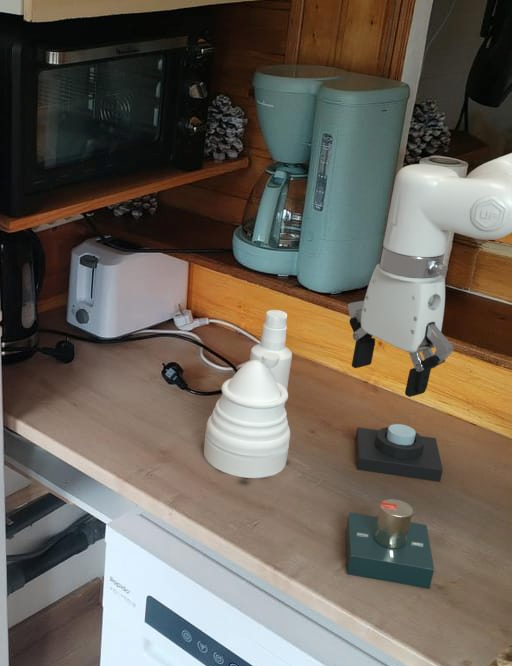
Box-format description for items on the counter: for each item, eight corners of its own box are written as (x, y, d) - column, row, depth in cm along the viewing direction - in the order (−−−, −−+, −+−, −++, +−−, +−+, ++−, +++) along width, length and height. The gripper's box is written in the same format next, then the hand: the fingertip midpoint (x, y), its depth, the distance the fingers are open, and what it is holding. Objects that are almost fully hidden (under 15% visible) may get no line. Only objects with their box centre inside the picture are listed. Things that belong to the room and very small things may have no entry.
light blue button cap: (412, 435, 142) (414, 426, 142) (414, 448, 139) (416, 438, 138) (385, 432, 143) (387, 422, 143) (387, 444, 140) (389, 434, 139)
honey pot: (295, 448, 146) (311, 346, 138) (274, 486, 136) (290, 379, 128) (217, 428, 151) (229, 329, 143) (192, 464, 141) (203, 360, 133)
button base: (433, 449, 146) (438, 428, 144) (439, 482, 137) (445, 459, 135) (355, 438, 149) (359, 417, 147) (356, 469, 140) (361, 447, 138)
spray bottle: (257, 396, 162) (270, 302, 154) (291, 409, 158) (305, 313, 150) (236, 408, 158) (247, 313, 150) (270, 422, 153) (283, 324, 145)
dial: (404, 533, 120) (412, 499, 118) (407, 550, 117) (415, 516, 114) (373, 528, 121) (380, 494, 119) (374, 545, 118) (381, 511, 115)
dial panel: (422, 542, 123) (426, 523, 122) (429, 588, 115) (434, 568, 113) (345, 530, 126) (349, 511, 124) (347, 574, 117) (351, 554, 116)
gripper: (487, 278, 112) (457, 400, 120) (381, 239, 126) (361, 351, 134) (444, 287, 109) (416, 412, 117) (341, 247, 123) (322, 360, 131)
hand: (387, 379), depth 125 cm, fingers open, 9 cm apart
